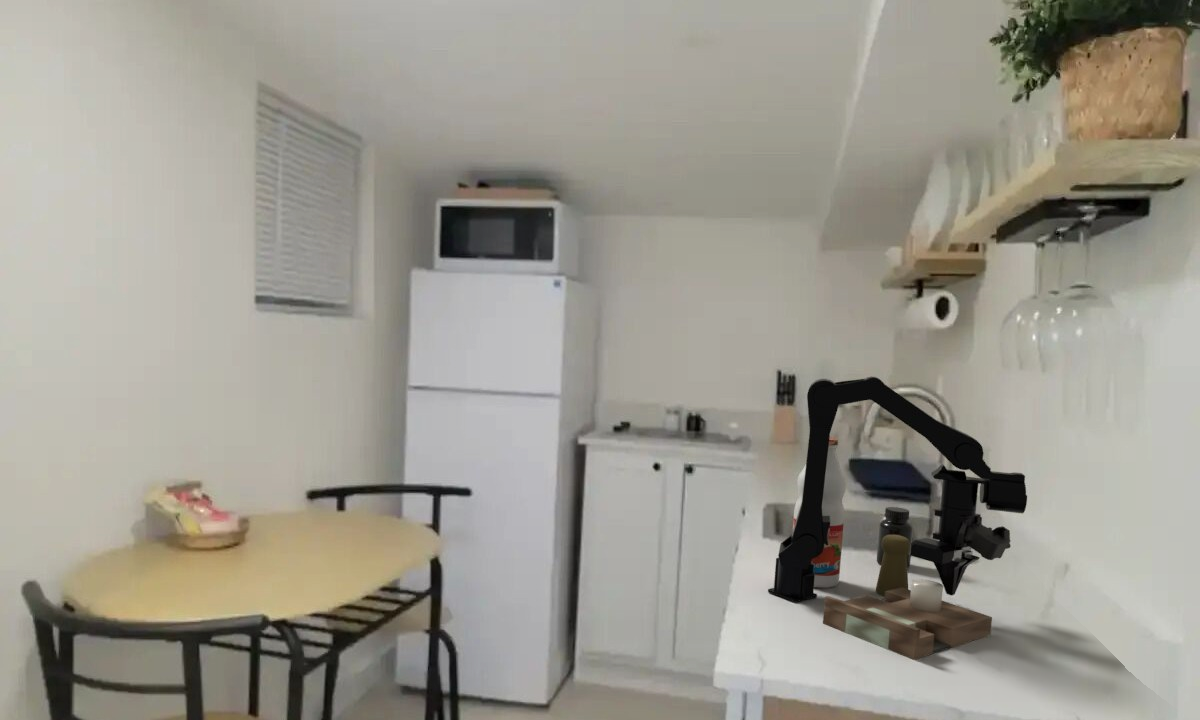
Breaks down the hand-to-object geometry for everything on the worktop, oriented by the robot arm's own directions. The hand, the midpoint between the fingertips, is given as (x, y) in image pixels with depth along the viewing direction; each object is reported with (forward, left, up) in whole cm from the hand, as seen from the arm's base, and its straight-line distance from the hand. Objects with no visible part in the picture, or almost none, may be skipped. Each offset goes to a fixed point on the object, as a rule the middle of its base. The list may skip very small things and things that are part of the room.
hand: (950, 594), depth 151 cm
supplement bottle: (-25, +20, -4) cm, 32 cm away
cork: (-13, +2, -4) cm, 14 cm away
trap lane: (0, -13, -4) cm, 13 cm away
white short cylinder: (0, -8, -1) cm, 8 cm away
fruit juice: (-25, -6, -4) cm, 26 cm away
